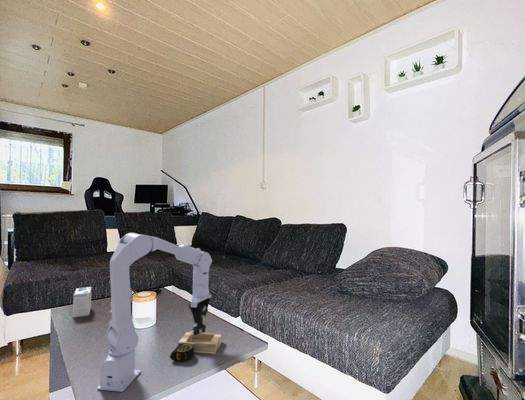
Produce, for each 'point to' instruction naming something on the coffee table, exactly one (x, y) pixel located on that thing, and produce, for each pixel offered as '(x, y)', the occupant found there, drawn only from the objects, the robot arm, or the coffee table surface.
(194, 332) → the push button
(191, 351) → the tape measure
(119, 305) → the robot arm
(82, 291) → the light bulb box
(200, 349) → the pocket block
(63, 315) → the coffee table surface
